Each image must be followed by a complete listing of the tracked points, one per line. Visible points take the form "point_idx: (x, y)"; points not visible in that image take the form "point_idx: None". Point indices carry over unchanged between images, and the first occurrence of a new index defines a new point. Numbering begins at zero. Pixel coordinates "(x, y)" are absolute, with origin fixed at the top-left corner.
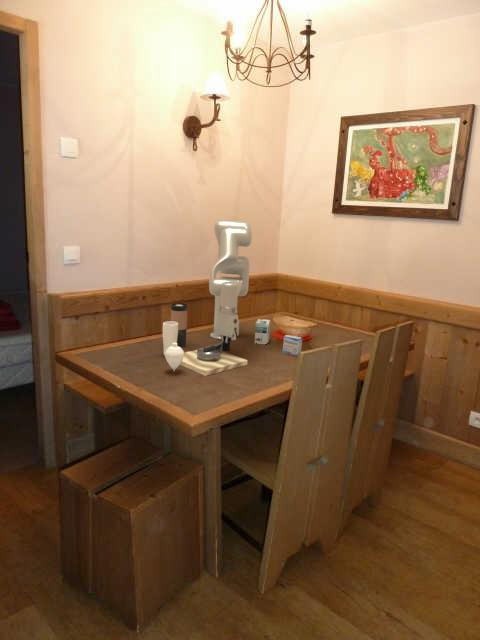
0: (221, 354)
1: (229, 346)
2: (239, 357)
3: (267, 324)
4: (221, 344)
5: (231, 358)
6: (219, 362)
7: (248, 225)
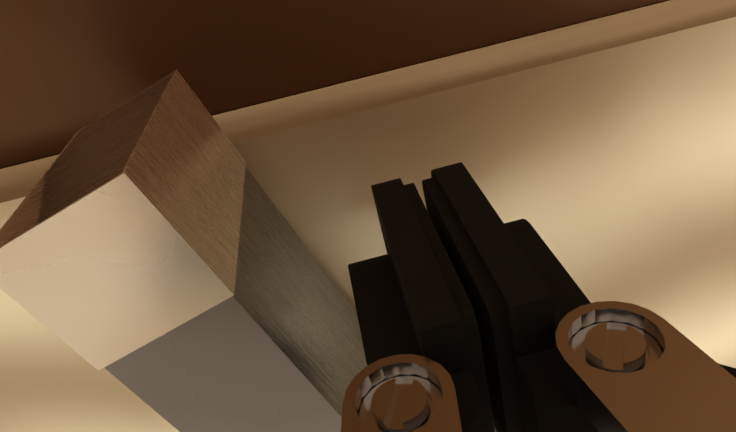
0: None
1: (553, 265)
2: (722, 26)
3: None
4: None
5: (661, 207)
6: None
7: None
